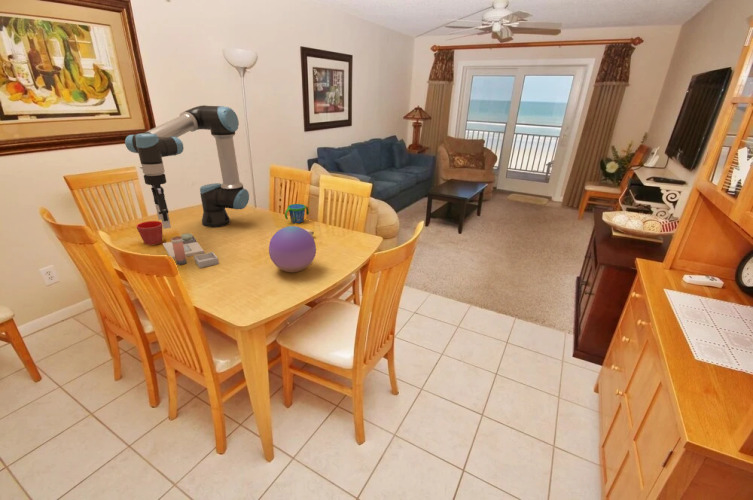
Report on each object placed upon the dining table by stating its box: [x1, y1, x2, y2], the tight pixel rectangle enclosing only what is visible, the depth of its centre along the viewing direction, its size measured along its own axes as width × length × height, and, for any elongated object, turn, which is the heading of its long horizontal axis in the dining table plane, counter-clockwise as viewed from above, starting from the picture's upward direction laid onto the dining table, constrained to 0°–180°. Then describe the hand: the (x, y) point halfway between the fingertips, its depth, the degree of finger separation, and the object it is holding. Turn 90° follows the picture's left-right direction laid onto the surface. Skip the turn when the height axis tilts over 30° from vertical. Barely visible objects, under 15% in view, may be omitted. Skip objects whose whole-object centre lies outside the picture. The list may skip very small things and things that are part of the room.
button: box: [180, 232, 193, 240], centre depth 172 cm, size 5×5×2 cm
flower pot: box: [135, 220, 164, 246], centre depth 171 cm, size 11×11×10 cm
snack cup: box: [284, 203, 310, 224], centre depth 208 cm, size 16×10×10 cm
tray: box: [193, 251, 220, 269], centre depth 154 cm, size 8×8×3 cm
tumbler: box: [170, 236, 188, 266], centre depth 151 cm, size 4×4×12 cm
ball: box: [268, 225, 317, 273], centre depth 148 cm, size 20×20×20 cm
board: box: [162, 234, 205, 260], centre depth 166 cm, size 14×20×3 cm
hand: (164, 223), depth 147 cm, fingers open, 13 cm apart
